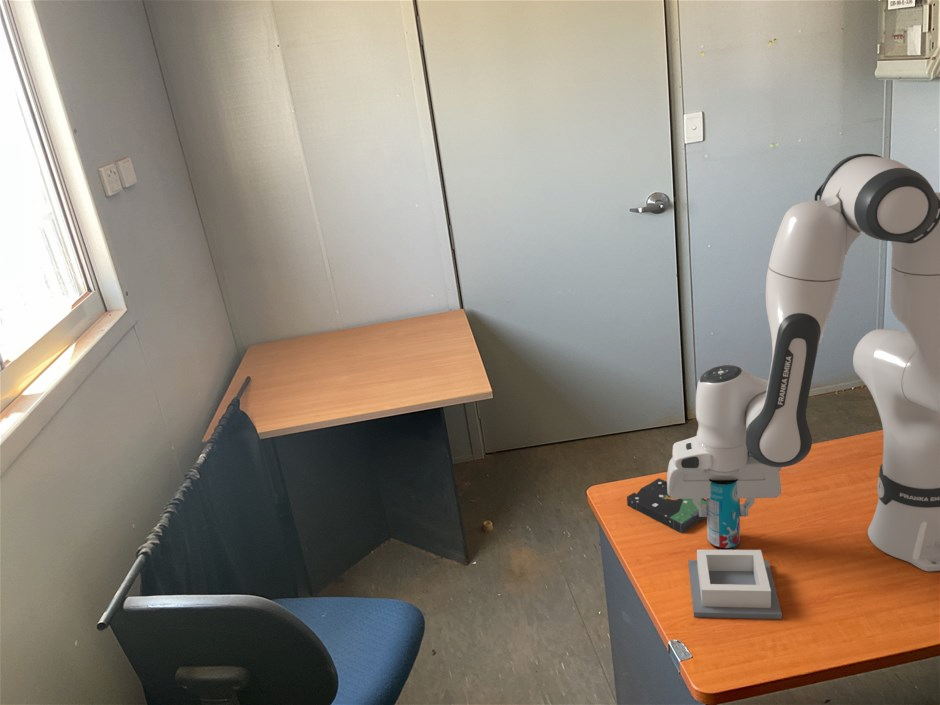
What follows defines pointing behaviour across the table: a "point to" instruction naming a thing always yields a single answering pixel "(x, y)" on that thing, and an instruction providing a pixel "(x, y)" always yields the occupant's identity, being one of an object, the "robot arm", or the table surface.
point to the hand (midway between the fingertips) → (723, 514)
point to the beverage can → (723, 514)
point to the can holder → (733, 585)
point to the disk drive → (665, 506)
